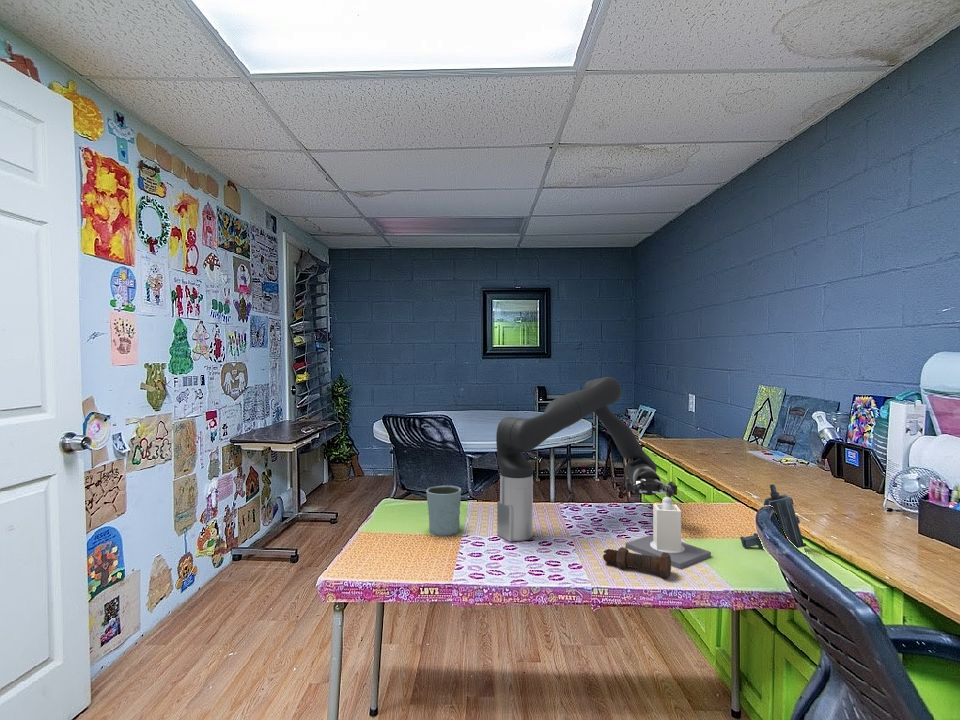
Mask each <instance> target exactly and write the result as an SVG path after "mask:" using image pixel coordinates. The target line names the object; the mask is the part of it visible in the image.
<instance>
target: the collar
mask: <svg viewBox="0 0 960 720" xmlns="http://www.w3.org/2000/svg"><path fill="white" fill-rule="evenodd" d="M652 504H653V507H652V508H653V509H652V514H653V515H652V517H653V519H652V520H653V525H652V528H653V529H652V532H653V533H652V535H653V542H654V544H655V546H656V549H657V550H671V551H681V542H682V511H681V509H680V507H678V505H677V504H672V510H662V503H652Z"/></svg>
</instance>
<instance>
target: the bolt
mask: <svg viewBox="0 0 960 720" xmlns="http://www.w3.org/2000/svg"><path fill="white" fill-rule="evenodd" d="M602 558H603V560H604V562H605V563H609V564H613V565H616V566H617V567H618V569H623V570H626V569H627V568H628V567H630V568H636V569H641V570H647V571H652V572H655V573H659V574H660V578H661V579H665V580H668V579H669V578H670V577H671V570H672V566H671V557H670V555H669V554H668V553H666V552H663V553H662V555H661V556H660V557H657V556H647V555H643V554H641V553H638V552H636V553H634V552H629V549H628V548H626V547H624V546H623V547H619V548H618V549H616V550H615V549H611V548H607V549H605V550H603V554H602Z"/></svg>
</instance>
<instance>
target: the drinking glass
mask: <svg viewBox="0 0 960 720" xmlns="http://www.w3.org/2000/svg"><path fill="white" fill-rule="evenodd" d="M425 491H426V500H427V511H428V513H427V515H428V522H429V525H428V526H429V528H428V529H429V532H430V533H431V534H432V535H433V536H438V537H440V536H441V537H448V536H454V535H456V534H458V533H459V531H460V527H461V526H460V522H461V521H460V515H461V509H460V508H461V502H462V501H461V500H462V498H461V497H462V488H461V487H459V486H457V485H436V486H431V487H428V488H427V489H426V490H425Z"/></svg>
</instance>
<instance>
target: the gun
mask: <svg viewBox="0 0 960 720" xmlns="http://www.w3.org/2000/svg"><path fill="white" fill-rule="evenodd" d="M769 489H770V493H769V495H770V497H767V498H764V501H763V506H765V505H771V506H773V507H774V509H775V511H776V513H777V516H778V520H779V522H780V524H781V526H782V528H783V530H784V532H785V534H786V536H787V537H788V539H789V540H790V541H791V542H792V543H793V544H794V545H795V546H796V547H797V548H796V549H800V548H806V547H808V545H807V543H805V542H804V540H803V536H802V533H801V529H800V525H799V524H800V523H801V520H800V518H799V517H798V516H797V515H796V512H795V508H794V501H793V498H791V496H789V495H787V494H786V493H785V494H780V492H778V491H777V488H776V485H775V484H773V483H772V484H770V485H769ZM757 533H758V532H754V533H753V535H750V536H743V535H742V536H740V537H739V538H740V543H741V545H742V547H743V548H744V549H749V548H751V547H756V546H757V547H759V548H760V549H763V548H764V547H763V546H762V544H761V541H760V539H759V537H758V534H757Z"/></svg>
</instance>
